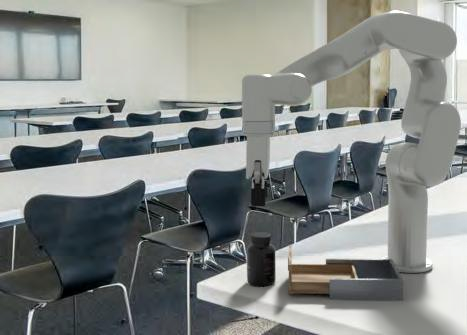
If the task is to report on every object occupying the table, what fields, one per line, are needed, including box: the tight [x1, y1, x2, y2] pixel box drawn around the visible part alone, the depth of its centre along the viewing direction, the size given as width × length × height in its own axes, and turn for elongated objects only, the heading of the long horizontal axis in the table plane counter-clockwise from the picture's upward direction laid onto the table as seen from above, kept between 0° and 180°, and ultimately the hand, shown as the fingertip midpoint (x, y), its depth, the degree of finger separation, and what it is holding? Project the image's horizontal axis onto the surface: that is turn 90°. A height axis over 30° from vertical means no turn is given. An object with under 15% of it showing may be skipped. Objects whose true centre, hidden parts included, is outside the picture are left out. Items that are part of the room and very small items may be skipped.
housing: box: [325, 257, 405, 302], centre depth 134 cm, size 15×16×5 cm
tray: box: [287, 244, 358, 296], centre depth 135 cm, size 15×16×7 cm
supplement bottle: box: [246, 231, 277, 288], centre depth 139 cm, size 7×7×12 cm
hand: (259, 201), depth 136 cm, fingers open, 9 cm apart
